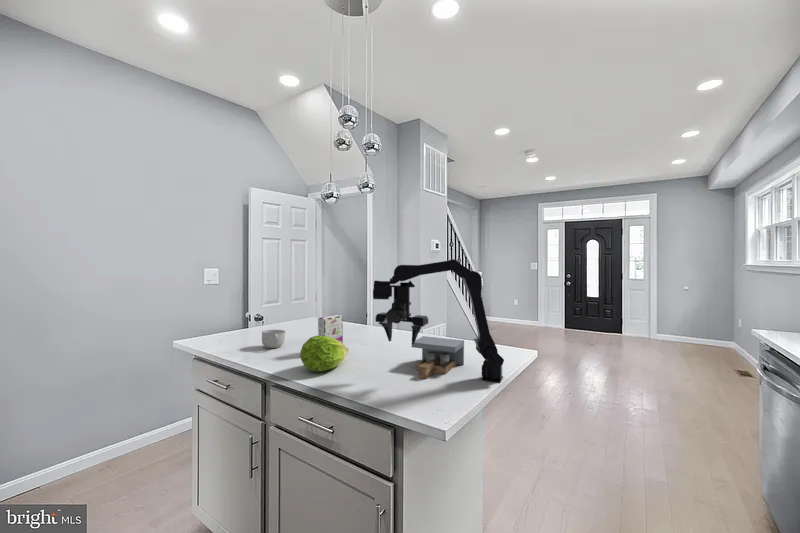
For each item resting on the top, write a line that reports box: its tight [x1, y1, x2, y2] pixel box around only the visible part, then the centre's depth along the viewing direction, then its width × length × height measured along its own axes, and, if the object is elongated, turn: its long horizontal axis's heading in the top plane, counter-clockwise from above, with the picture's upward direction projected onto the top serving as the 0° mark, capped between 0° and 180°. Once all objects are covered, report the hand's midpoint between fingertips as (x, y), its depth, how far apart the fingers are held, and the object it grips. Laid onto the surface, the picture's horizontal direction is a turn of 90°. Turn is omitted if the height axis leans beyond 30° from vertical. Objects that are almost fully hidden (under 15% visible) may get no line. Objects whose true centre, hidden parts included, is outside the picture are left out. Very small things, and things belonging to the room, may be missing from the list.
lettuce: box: [299, 335, 350, 373], centre depth 144 cm, size 15×24×14 cm, turn 152°
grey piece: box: [411, 335, 465, 366], centre depth 146 cm, size 18×12×10 cm
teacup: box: [261, 329, 286, 349], centre depth 174 cm, size 14×11×8 cm
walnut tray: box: [415, 351, 456, 380], centre depth 140 cm, size 12×20×6 cm, turn 154°
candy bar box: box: [317, 314, 344, 344], centre depth 167 cm, size 11×5×16 cm, turn 143°
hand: (401, 342), depth 130 cm, fingers open, 9 cm apart
